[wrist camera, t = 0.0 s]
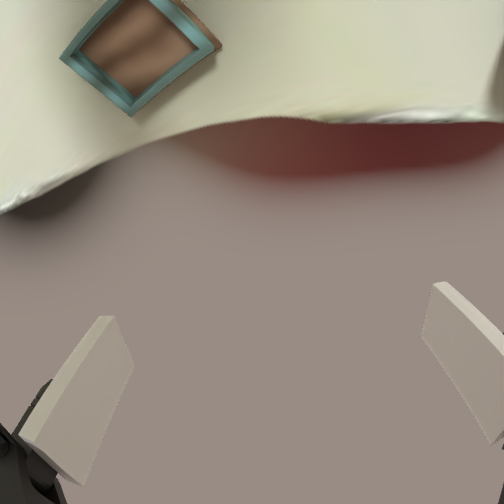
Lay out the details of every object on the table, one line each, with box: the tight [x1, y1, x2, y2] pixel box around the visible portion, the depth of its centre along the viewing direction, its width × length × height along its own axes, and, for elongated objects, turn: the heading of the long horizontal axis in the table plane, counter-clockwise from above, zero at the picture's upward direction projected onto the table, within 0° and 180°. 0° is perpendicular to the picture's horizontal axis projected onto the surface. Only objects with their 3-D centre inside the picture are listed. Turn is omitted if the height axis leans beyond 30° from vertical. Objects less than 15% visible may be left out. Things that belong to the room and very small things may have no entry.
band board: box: [59, 0, 222, 117], centre depth 26 cm, size 16×16×4 cm
